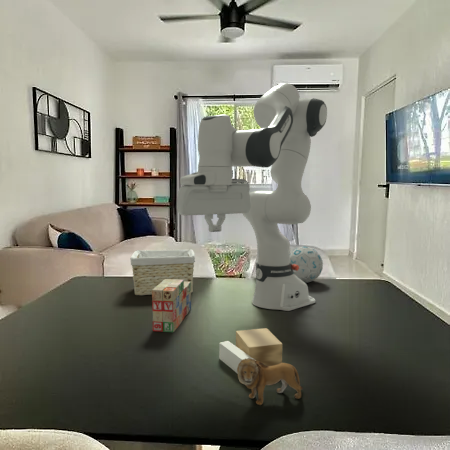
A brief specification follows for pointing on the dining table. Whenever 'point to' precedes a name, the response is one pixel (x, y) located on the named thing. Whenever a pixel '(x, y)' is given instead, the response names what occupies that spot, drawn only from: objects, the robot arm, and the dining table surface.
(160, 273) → the storage basket
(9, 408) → the dining table surface
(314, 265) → the puzzle ball
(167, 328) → the stack of blocks
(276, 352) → the oak block
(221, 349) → the fence board
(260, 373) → the lion figurine
